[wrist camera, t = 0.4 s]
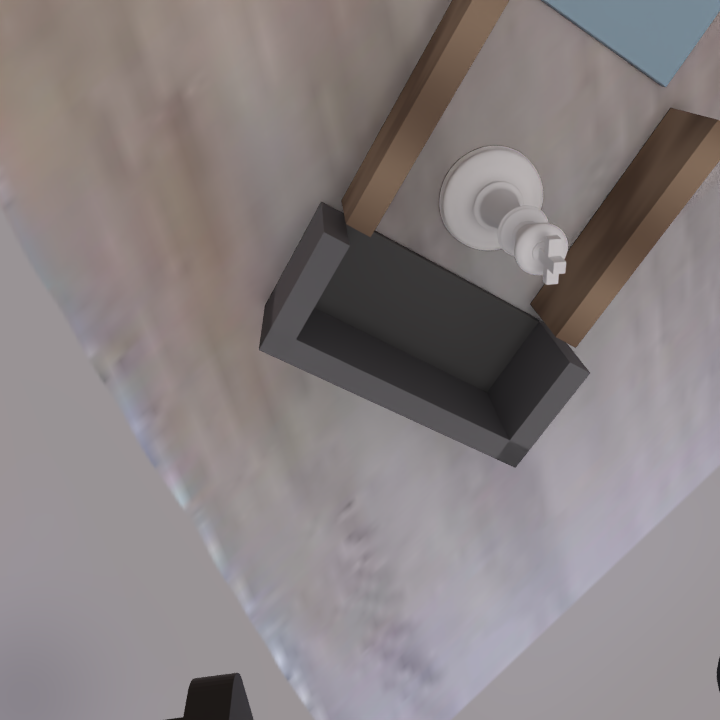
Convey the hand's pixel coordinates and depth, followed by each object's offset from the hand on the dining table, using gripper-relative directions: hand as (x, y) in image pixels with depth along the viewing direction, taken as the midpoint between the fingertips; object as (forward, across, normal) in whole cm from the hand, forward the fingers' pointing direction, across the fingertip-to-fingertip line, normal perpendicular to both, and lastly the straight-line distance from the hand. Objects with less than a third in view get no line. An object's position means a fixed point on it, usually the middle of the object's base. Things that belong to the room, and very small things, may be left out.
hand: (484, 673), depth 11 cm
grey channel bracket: (+24, -2, +5) cm, 25 cm away
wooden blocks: (+24, -7, -2) cm, 26 cm away
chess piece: (+25, -6, -1) cm, 25 cm away
